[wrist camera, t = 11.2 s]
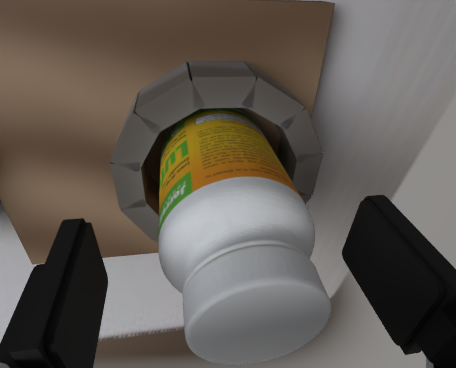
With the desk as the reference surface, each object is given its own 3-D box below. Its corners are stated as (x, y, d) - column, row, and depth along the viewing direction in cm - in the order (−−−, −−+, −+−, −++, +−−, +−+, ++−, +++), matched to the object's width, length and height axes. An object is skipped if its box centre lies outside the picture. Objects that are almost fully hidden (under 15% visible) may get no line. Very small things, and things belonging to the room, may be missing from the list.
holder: (-86, -13, 11) (-173, -7, 8) (324, 1, 13) (366, 9, 11) (38, 251, 19) (15, 300, 16) (281, 230, 22) (298, 269, 19)
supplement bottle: (164, 94, 14) (165, 259, 6) (275, 109, 15) (395, 260, 7) (157, 190, 17) (149, 386, 9) (249, 195, 18) (315, 370, 10)
